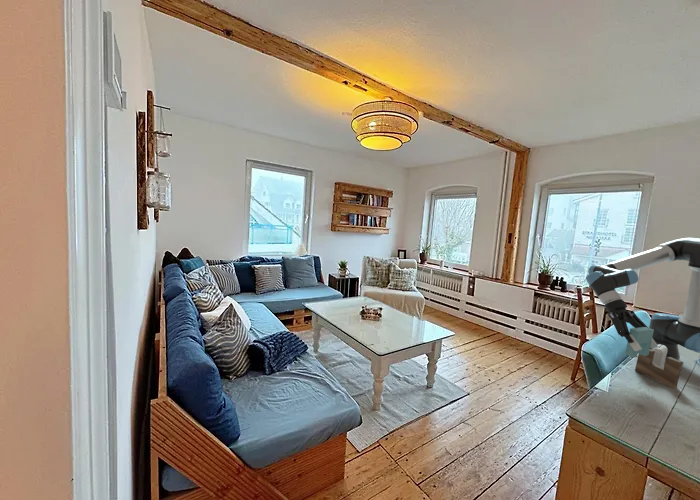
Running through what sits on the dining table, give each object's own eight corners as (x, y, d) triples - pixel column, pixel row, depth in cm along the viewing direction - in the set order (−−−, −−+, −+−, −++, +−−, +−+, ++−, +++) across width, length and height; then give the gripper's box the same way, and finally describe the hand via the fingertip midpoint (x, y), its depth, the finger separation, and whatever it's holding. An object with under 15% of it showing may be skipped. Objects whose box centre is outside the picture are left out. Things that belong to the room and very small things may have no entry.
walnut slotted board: (638, 370, 144) (643, 346, 142) (676, 387, 130) (683, 361, 129) (634, 370, 143) (640, 347, 141) (673, 388, 130) (679, 362, 128)
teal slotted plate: (640, 352, 135) (645, 326, 133) (648, 355, 132) (653, 329, 130) (624, 354, 132) (630, 328, 130) (633, 357, 129) (638, 331, 127)
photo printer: (652, 364, 151) (657, 341, 149) (664, 368, 147) (670, 345, 145) (646, 369, 145) (652, 345, 143) (658, 373, 141) (664, 349, 139)
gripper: (621, 304, 147) (655, 349, 134) (588, 306, 140) (620, 354, 128) (636, 297, 141) (673, 343, 129) (603, 299, 134) (638, 348, 122)
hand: (647, 349), depth 128 cm, fingers closed on teal slotted plate, 10 cm apart
